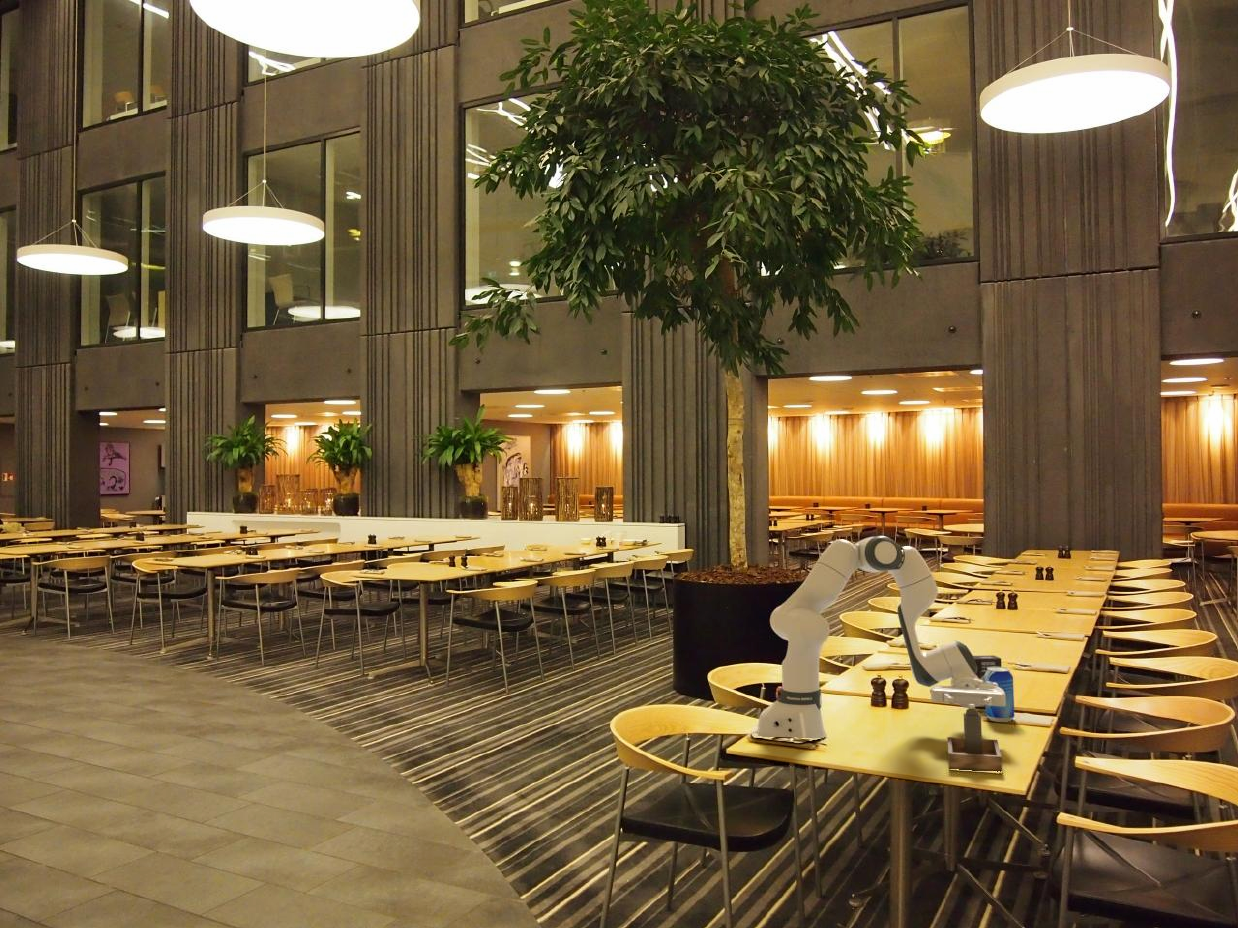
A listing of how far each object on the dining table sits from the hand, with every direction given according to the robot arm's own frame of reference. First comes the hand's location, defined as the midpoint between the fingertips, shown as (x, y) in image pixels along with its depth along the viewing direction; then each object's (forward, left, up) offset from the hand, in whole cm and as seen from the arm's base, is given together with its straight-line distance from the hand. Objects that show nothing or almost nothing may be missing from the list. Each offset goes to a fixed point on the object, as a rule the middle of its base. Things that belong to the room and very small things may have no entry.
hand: (968, 701), depth 261 cm
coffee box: (+7, +56, -14) cm, 58 cm away
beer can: (+10, +37, -14) cm, 41 cm away
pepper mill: (0, -12, -13) cm, 17 cm away
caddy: (0, -12, -14) cm, 18 cm away
